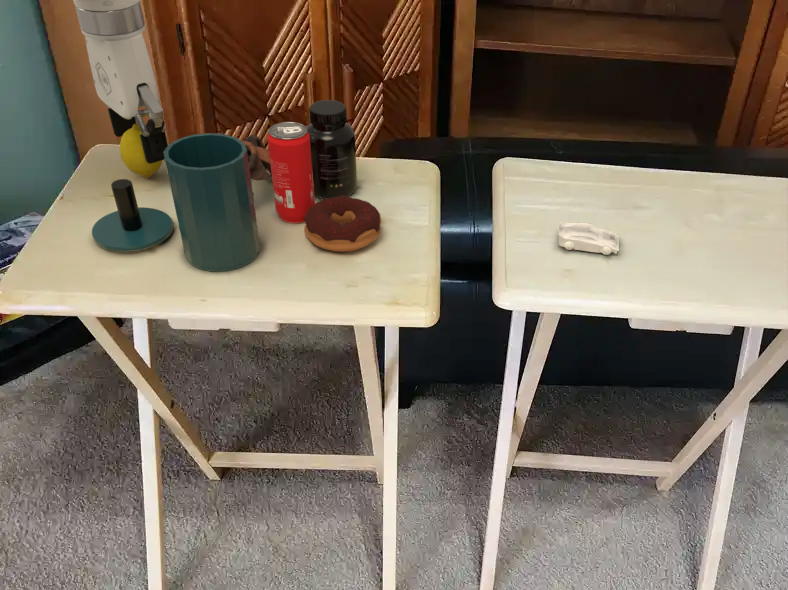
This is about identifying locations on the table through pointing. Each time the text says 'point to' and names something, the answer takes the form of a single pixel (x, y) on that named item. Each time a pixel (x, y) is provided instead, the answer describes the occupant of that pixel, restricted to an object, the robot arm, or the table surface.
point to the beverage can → (291, 170)
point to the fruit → (136, 153)
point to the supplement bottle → (332, 150)
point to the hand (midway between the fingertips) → (142, 146)
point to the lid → (131, 223)
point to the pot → (213, 201)
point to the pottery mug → (257, 158)
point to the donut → (342, 237)
